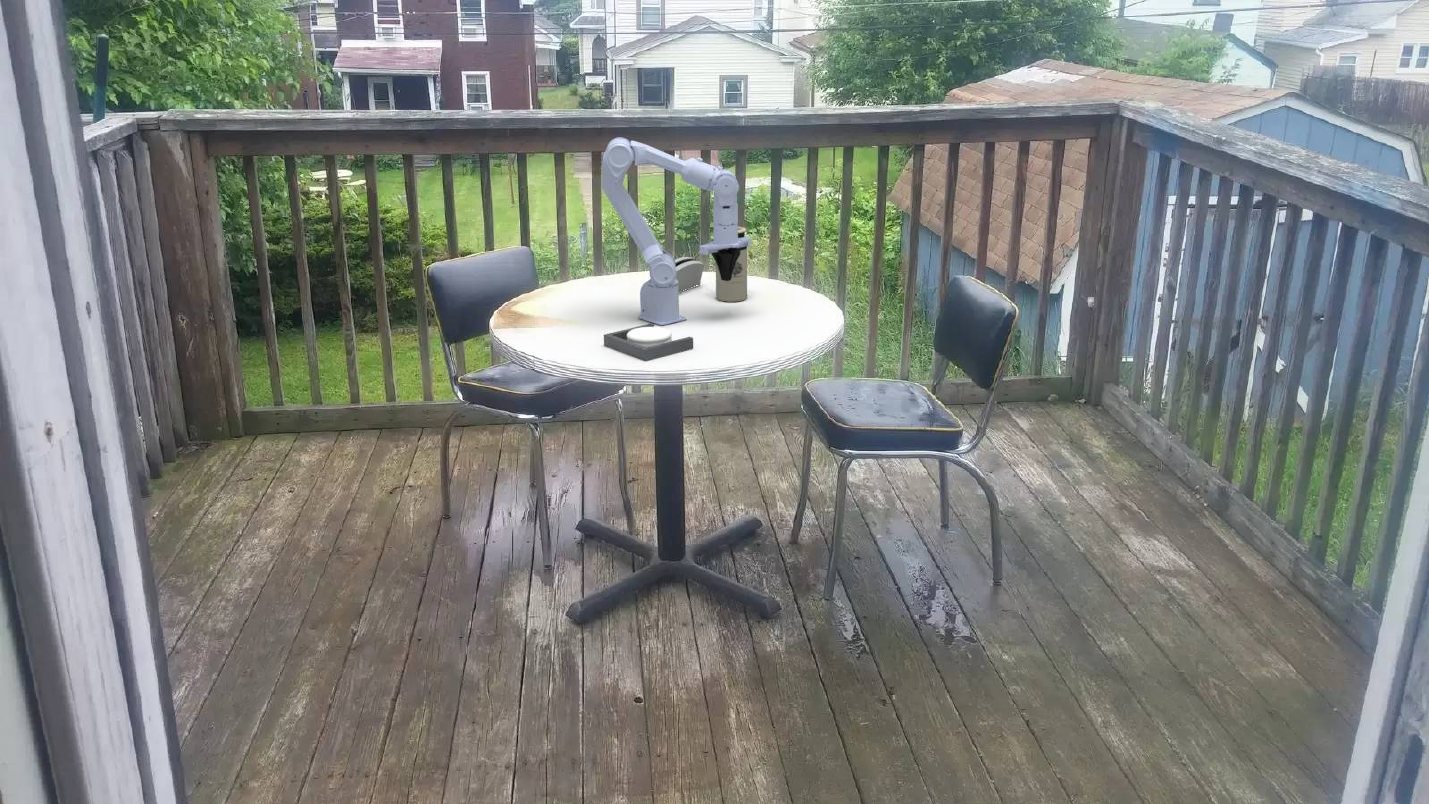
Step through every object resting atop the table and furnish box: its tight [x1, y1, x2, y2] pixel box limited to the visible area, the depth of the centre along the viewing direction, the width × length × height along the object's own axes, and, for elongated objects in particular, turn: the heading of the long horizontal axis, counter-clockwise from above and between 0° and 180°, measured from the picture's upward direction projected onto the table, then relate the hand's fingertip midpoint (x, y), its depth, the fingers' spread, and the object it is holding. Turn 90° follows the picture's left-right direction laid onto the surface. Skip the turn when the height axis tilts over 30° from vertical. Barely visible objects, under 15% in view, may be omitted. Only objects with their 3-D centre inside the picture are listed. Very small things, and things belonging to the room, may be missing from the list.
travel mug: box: [715, 226, 748, 303], centre depth 284 cm, size 8×8×18 cm
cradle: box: [603, 323, 694, 362], centre depth 248 cm, size 15×13×2 cm
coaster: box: [627, 326, 673, 348], centre depth 248 cm, size 10×10×4 cm
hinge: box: [674, 256, 705, 293], centre depth 294 cm, size 17×5×10 cm, turn 145°
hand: (726, 280), depth 267 cm, fingers closed
